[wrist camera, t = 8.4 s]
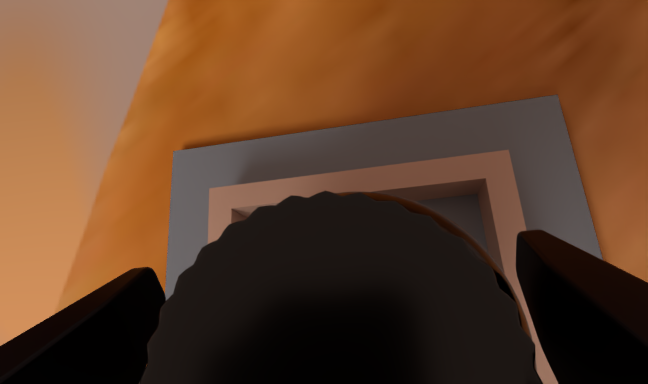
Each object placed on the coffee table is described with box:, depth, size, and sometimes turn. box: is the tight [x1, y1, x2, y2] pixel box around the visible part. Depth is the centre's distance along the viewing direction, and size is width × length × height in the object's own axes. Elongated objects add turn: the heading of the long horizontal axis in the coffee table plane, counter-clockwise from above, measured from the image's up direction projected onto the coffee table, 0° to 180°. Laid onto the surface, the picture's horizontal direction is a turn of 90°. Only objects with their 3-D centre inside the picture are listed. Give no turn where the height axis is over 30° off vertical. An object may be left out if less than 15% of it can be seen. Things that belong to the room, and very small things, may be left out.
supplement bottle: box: [139, 191, 543, 384], centre depth 10 cm, size 7×7×12 cm
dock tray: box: [165, 95, 603, 384], centre depth 16 cm, size 18×18×3 cm
